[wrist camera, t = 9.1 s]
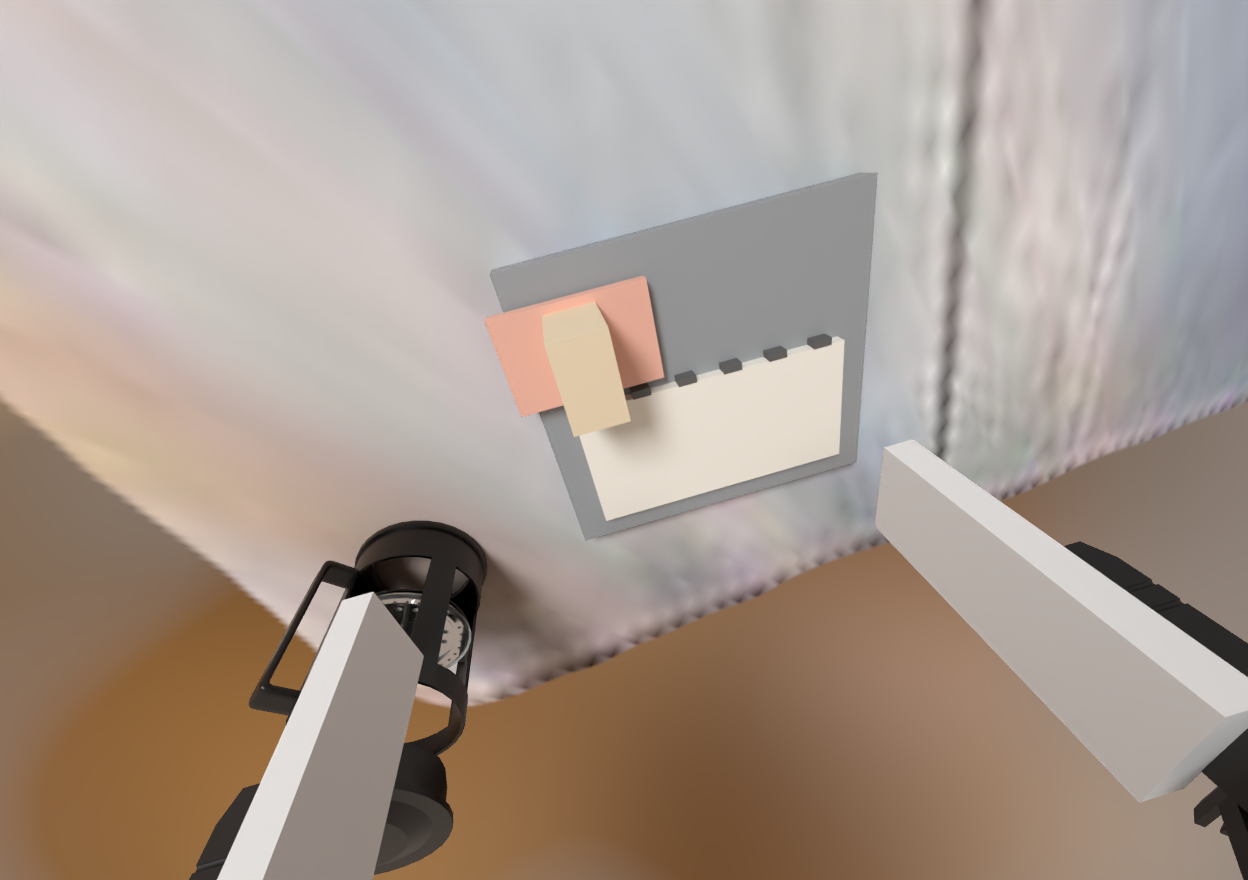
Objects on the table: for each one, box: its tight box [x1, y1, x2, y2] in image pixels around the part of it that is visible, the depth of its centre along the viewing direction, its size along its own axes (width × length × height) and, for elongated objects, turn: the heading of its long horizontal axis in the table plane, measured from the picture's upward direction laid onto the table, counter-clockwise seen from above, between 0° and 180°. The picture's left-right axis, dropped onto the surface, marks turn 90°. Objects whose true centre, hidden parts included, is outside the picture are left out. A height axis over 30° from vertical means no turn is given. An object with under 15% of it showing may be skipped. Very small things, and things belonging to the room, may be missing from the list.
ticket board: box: [490, 173, 877, 540], centre depth 30 cm, size 22×20×2 cm
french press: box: [249, 521, 487, 875], centre depth 25 cm, size 12×9×23 cm
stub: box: [485, 276, 664, 437], centre depth 24 cm, size 9×6×6 cm, turn 102°
